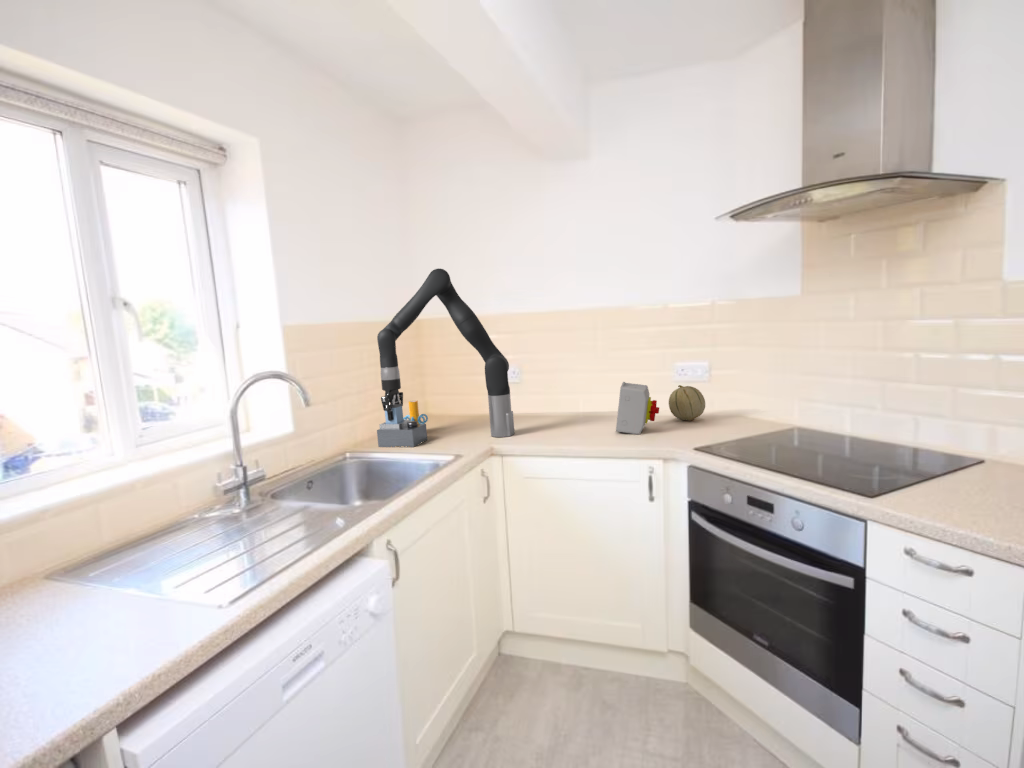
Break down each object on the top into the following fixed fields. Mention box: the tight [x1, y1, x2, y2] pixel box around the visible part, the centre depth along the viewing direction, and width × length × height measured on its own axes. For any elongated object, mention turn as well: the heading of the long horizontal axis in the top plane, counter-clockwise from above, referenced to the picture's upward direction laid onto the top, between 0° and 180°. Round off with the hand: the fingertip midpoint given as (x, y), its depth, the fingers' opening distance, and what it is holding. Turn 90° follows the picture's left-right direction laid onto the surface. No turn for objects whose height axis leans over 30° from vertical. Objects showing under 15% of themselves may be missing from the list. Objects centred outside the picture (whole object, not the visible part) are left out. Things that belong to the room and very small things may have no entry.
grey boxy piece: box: [376, 419, 428, 448], centre depth 211 cm, size 16×12×9 cm
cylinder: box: [403, 400, 429, 424], centre depth 228 cm, size 12×10×15 cm
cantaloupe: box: [668, 385, 706, 422], centre depth 217 cm, size 15×15×15 cm
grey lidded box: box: [384, 402, 405, 424], centre depth 211 cm, size 5×5×8 cm
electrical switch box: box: [615, 381, 660, 435], centre depth 203 cm, size 15×15×20 cm
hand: (394, 418), depth 211 cm, fingers closed on grey lidded box, 5 cm apart
